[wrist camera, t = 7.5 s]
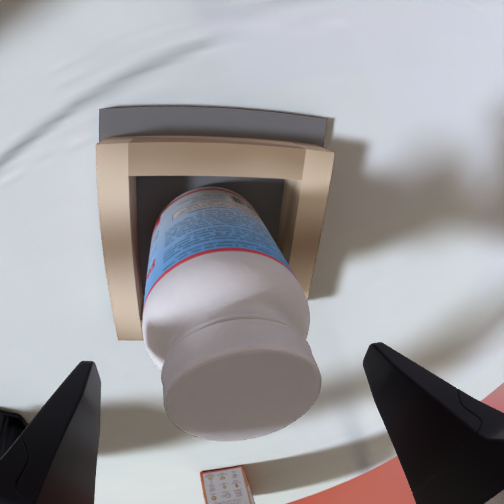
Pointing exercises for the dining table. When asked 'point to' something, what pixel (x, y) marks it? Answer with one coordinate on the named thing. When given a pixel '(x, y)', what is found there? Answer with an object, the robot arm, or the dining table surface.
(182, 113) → the mat
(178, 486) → the dining table surface
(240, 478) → the cracker box
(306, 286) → the collar
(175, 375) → the pill bottle
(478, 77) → the dining table surface
